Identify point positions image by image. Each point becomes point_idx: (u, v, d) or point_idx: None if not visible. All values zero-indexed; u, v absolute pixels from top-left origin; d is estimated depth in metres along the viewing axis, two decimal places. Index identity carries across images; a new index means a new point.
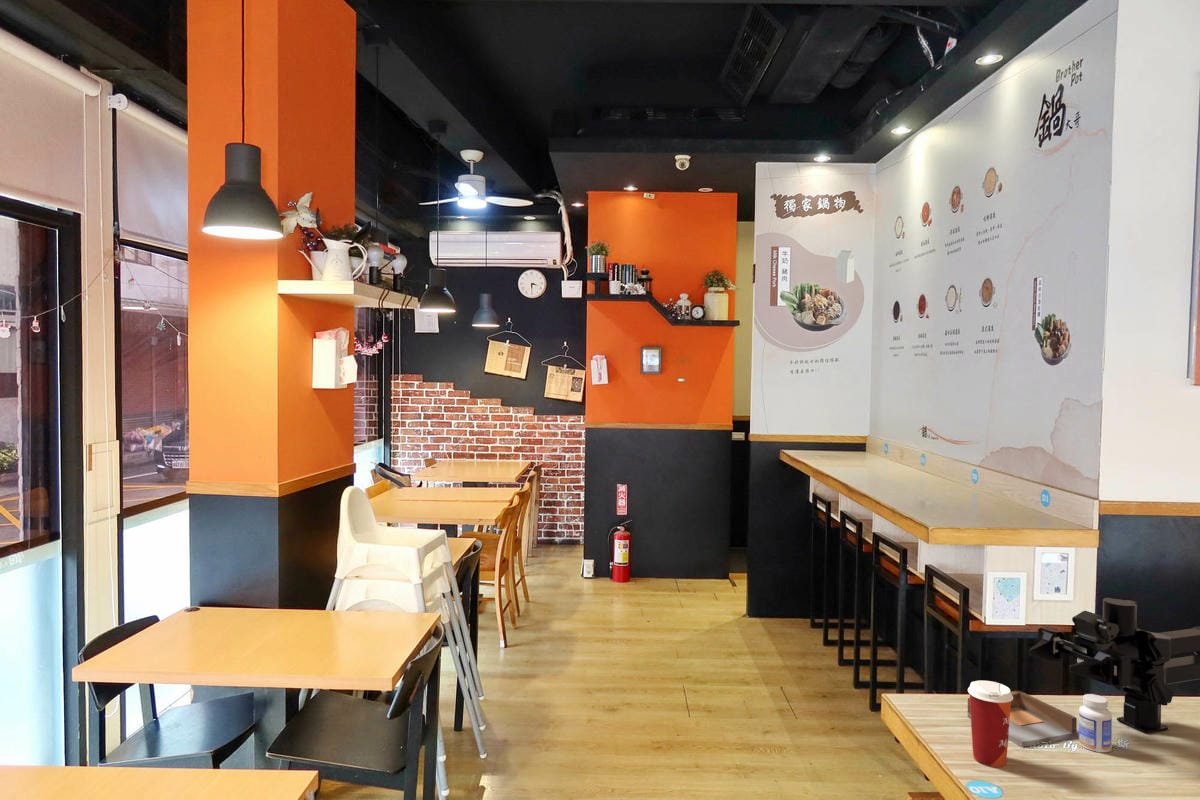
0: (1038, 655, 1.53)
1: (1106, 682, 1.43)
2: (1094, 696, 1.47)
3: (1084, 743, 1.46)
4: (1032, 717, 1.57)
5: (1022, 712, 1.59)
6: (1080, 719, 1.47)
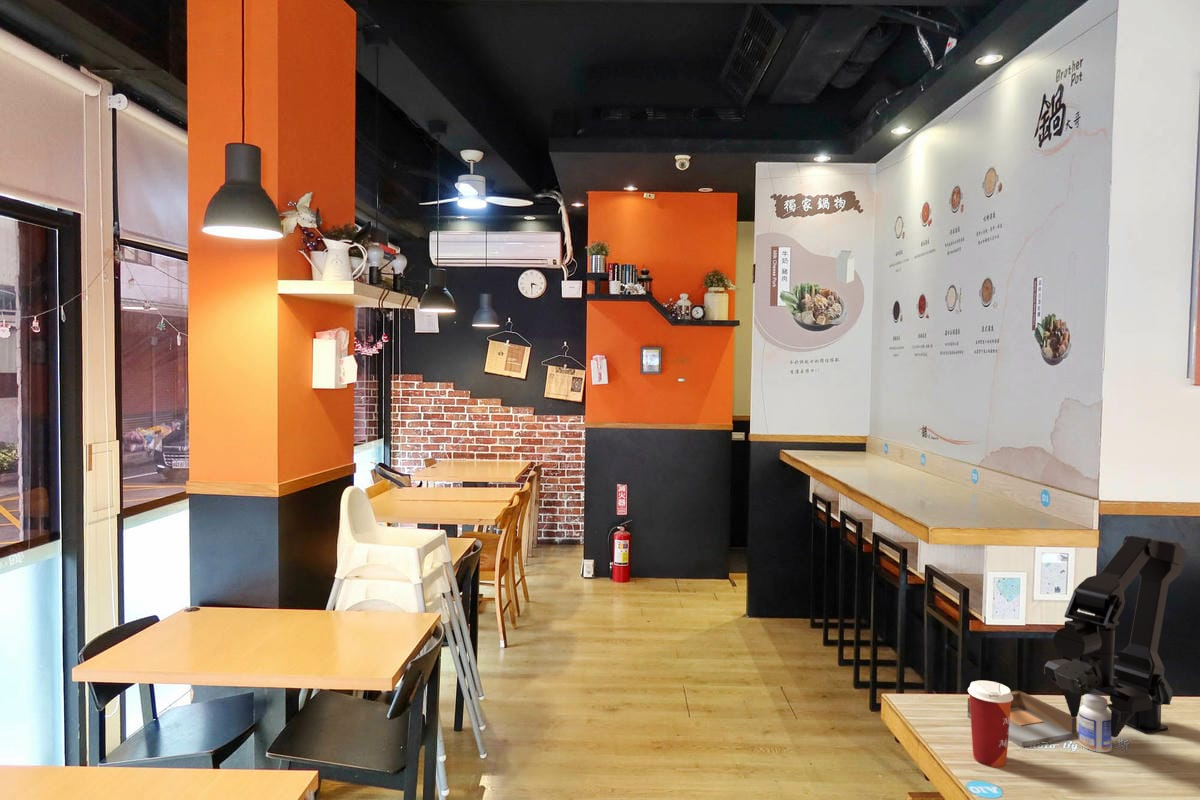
0: (1078, 706, 1.51)
1: None
2: (1093, 696, 1.47)
3: (1084, 743, 1.46)
4: (1032, 717, 1.57)
5: (1022, 712, 1.59)
6: (1080, 719, 1.47)
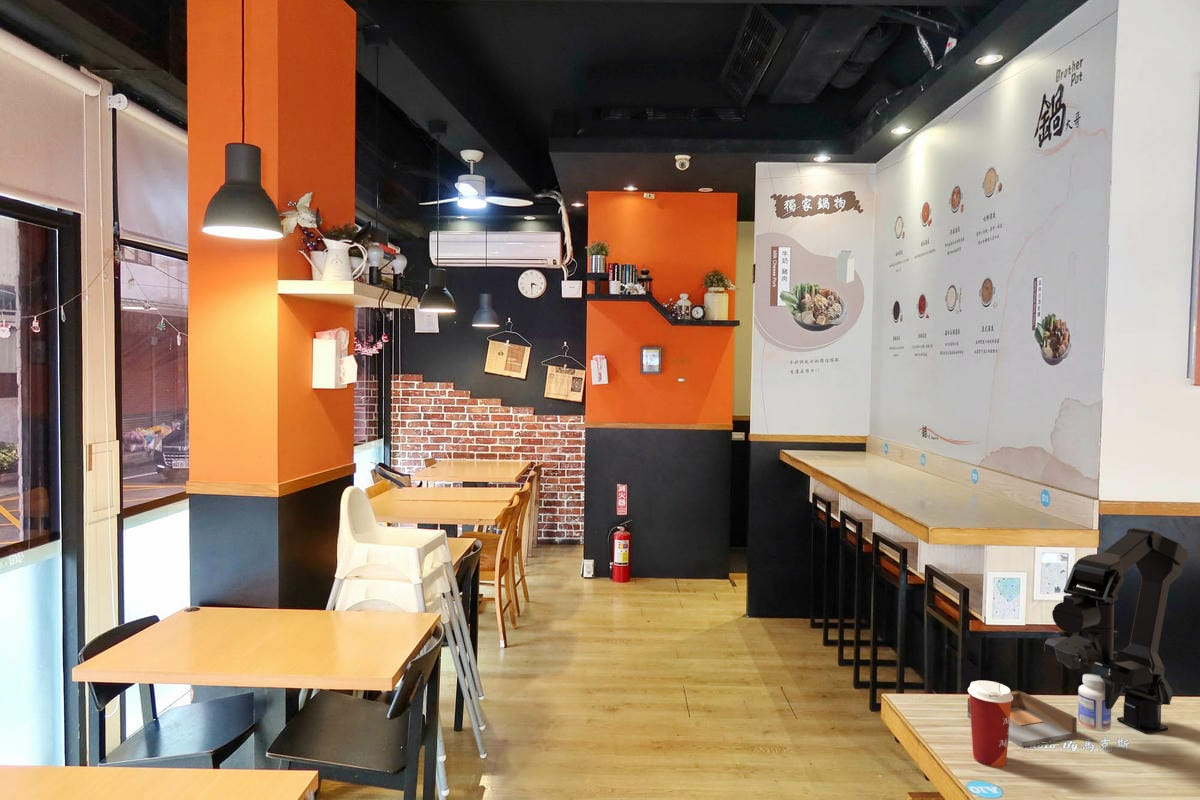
0: None
1: None
2: (1093, 676, 1.47)
3: (1084, 723, 1.46)
4: (1032, 717, 1.57)
5: (1022, 712, 1.59)
6: (1080, 699, 1.47)
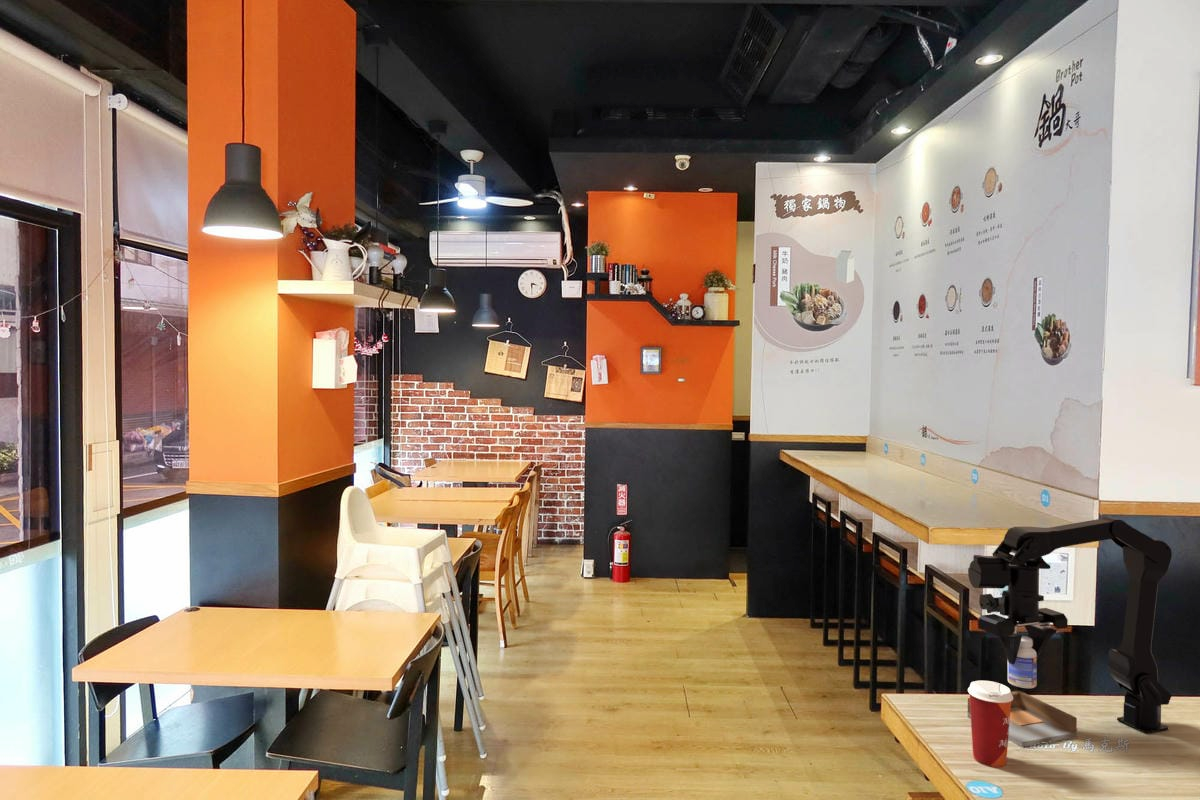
0: None
1: (1012, 638, 1.52)
2: (1024, 638, 1.56)
3: None
4: (1032, 717, 1.57)
5: (1022, 712, 1.59)
6: None
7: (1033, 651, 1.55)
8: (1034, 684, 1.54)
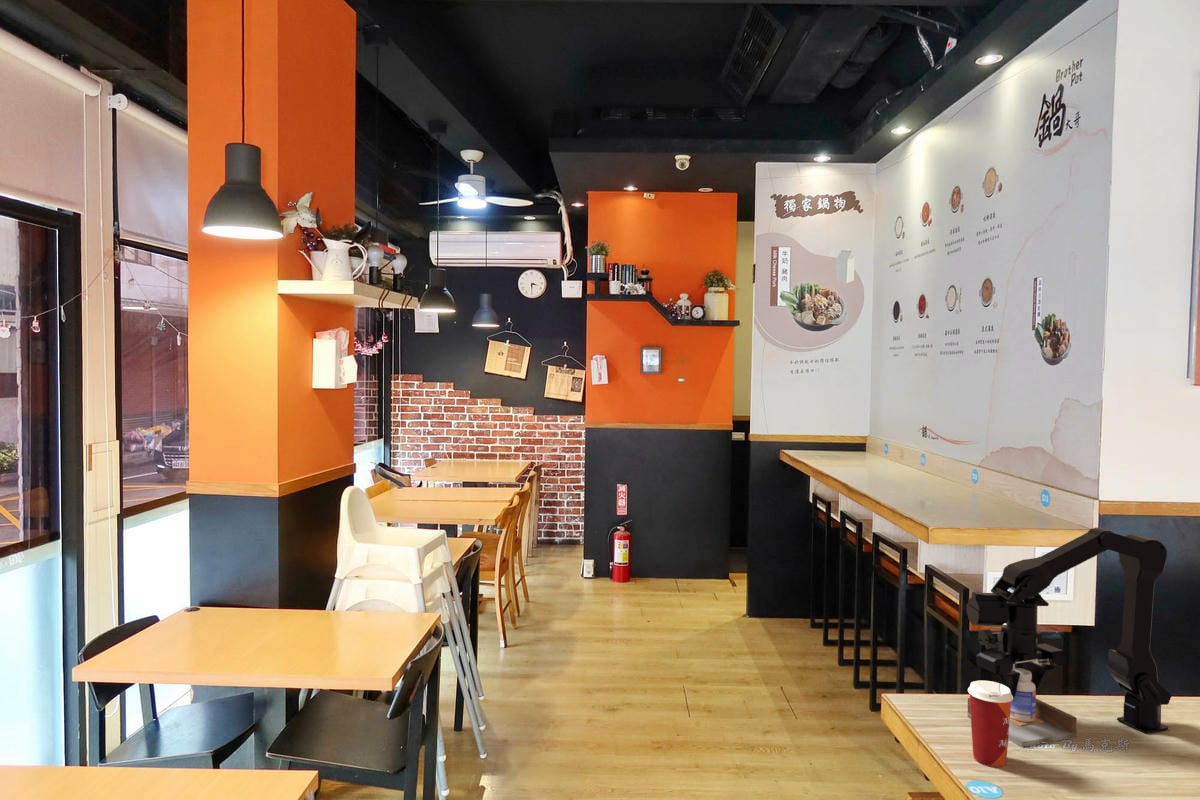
0: None
1: None
2: (1023, 671, 1.57)
3: None
4: None
5: None
6: None
7: (1032, 684, 1.55)
8: (1033, 718, 1.55)
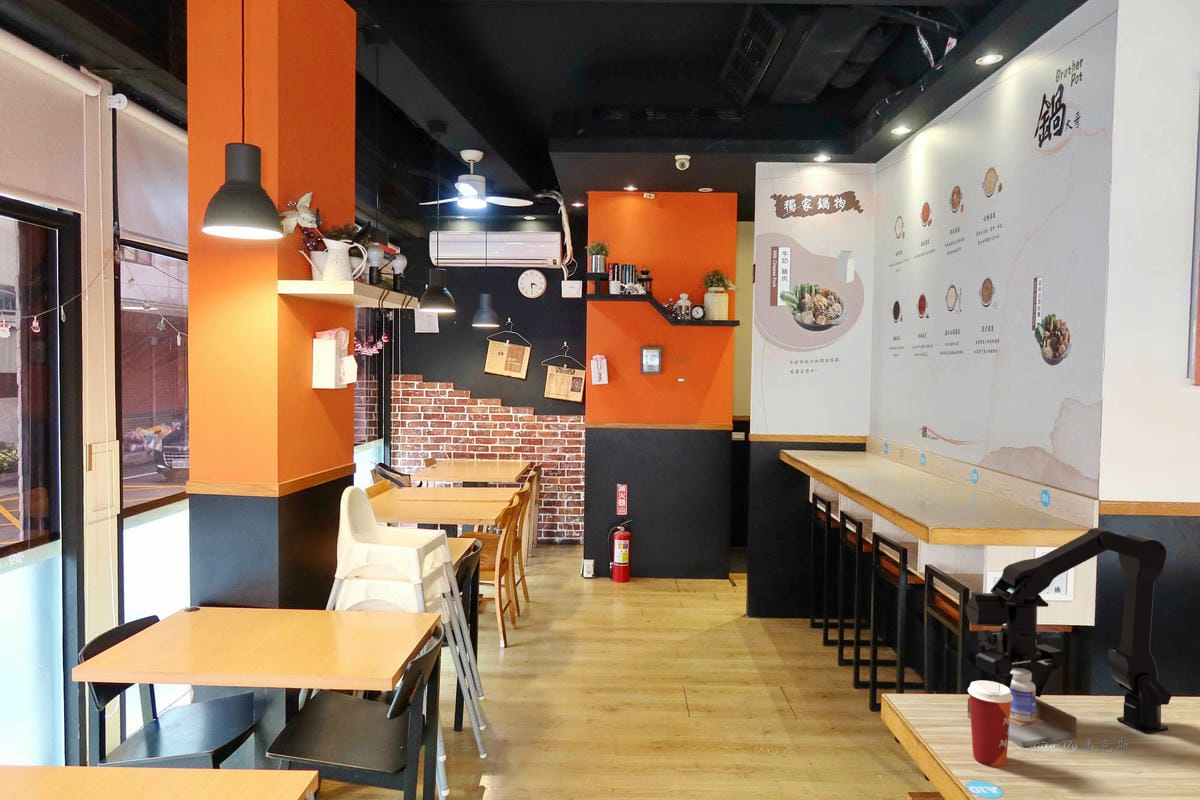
0: (1040, 687, 1.57)
1: (1003, 677, 1.52)
2: (1023, 671, 1.57)
3: None
4: None
5: None
6: None
7: (1032, 684, 1.55)
8: (1033, 718, 1.55)
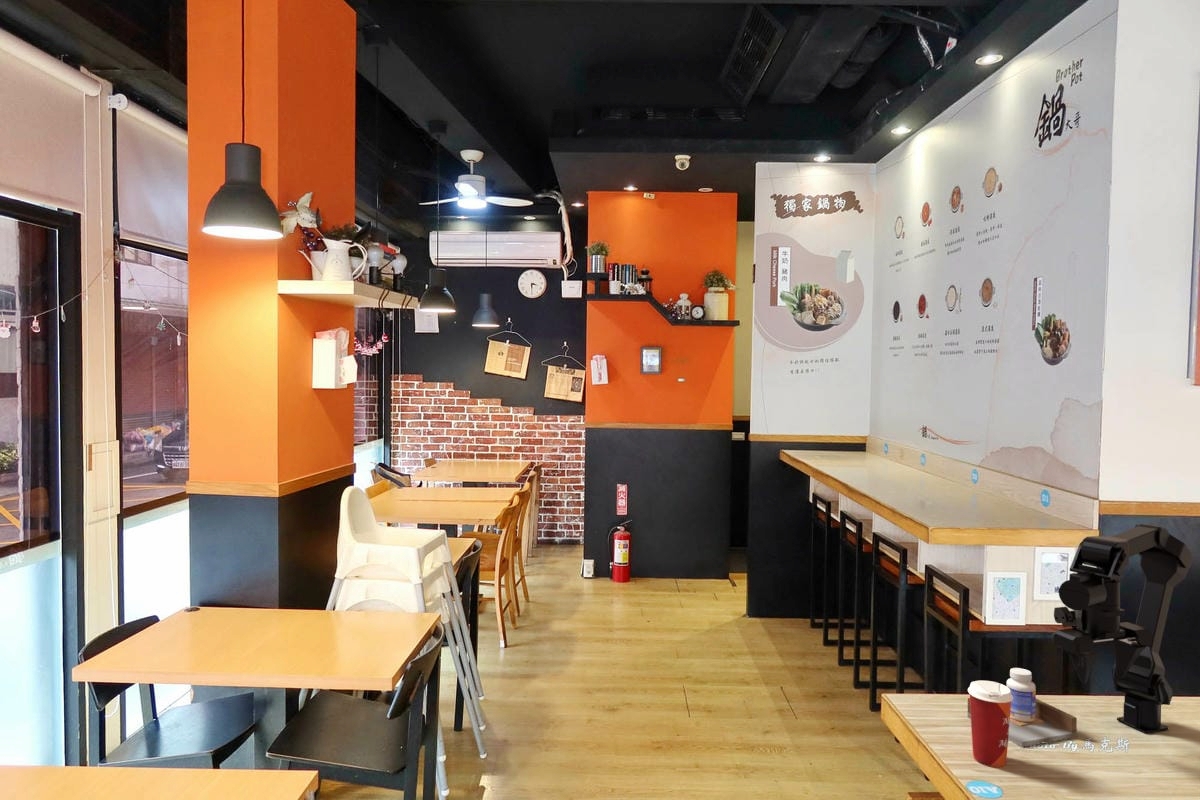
0: (1123, 667, 1.48)
1: None
2: (1023, 671, 1.57)
3: None
4: None
5: None
6: None
7: (1032, 684, 1.55)
8: (1033, 718, 1.55)
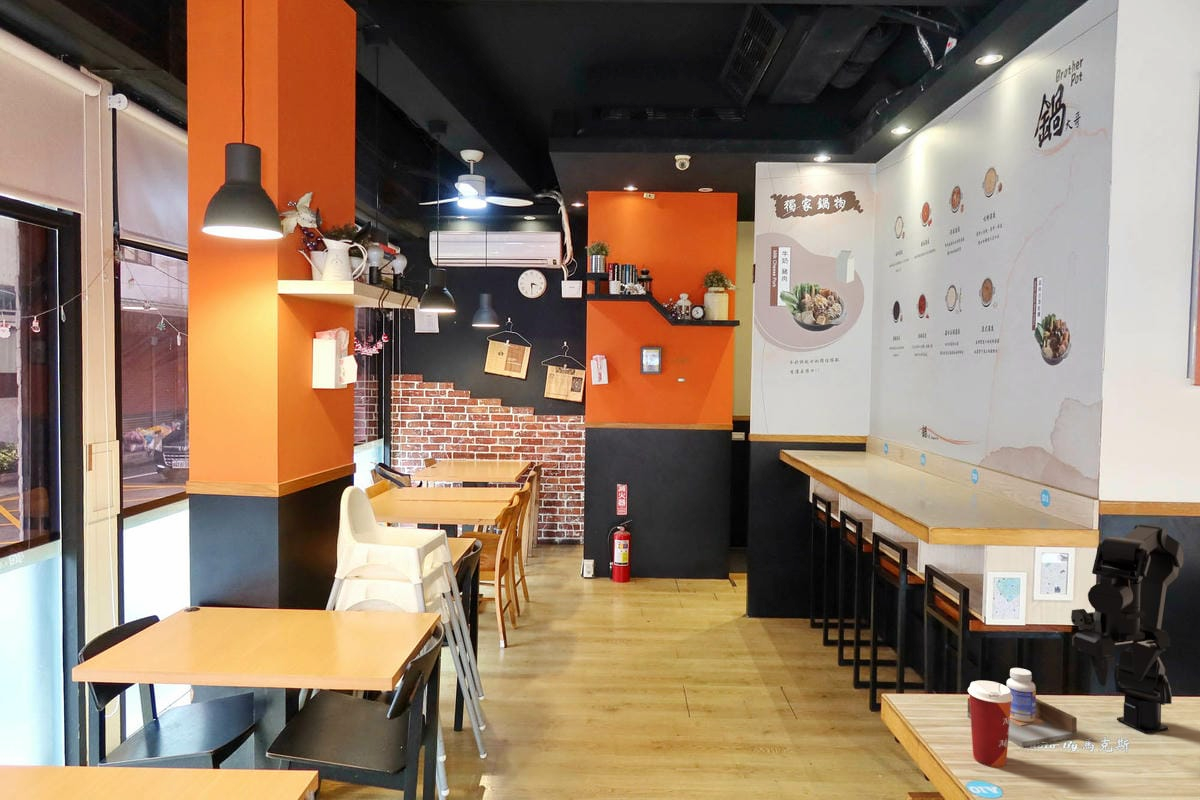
0: (1142, 670, 1.46)
1: None
2: (1023, 671, 1.57)
3: None
4: None
5: None
6: None
7: (1032, 684, 1.55)
8: (1033, 718, 1.55)
